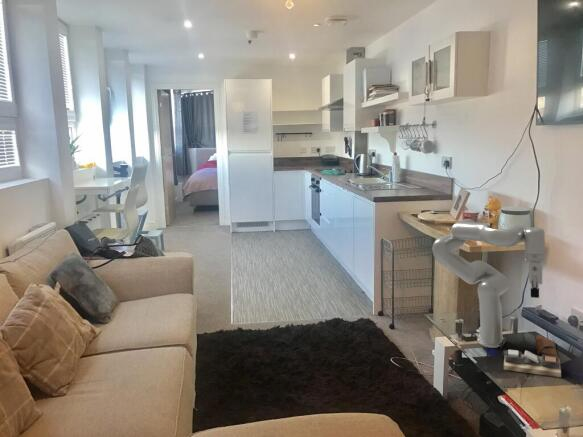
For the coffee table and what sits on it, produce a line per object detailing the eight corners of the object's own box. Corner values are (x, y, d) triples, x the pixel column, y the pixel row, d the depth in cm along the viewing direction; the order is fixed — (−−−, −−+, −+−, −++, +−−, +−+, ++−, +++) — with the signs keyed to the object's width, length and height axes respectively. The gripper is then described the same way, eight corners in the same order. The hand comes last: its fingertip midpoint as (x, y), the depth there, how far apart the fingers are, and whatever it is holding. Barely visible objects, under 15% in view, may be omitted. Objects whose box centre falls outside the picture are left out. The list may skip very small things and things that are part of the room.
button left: (508, 358, 196) (507, 353, 196) (508, 353, 200) (508, 349, 199) (518, 359, 194) (518, 355, 194) (518, 355, 198) (518, 350, 198)
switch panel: (503, 369, 194) (503, 359, 193) (505, 356, 205) (505, 346, 204) (561, 377, 184) (561, 367, 184) (559, 362, 195) (559, 353, 194)
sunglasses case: (560, 360, 196) (551, 347, 197) (544, 366, 200) (535, 353, 200) (555, 341, 213) (547, 329, 213) (540, 347, 216) (532, 335, 216)
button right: (545, 365, 190) (545, 360, 190) (544, 360, 193) (544, 355, 193) (556, 366, 188) (556, 361, 188) (555, 361, 192) (555, 357, 191)
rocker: (524, 356, 193) (525, 354, 193) (524, 351, 196) (525, 349, 196) (538, 363, 191) (539, 361, 191) (537, 358, 195) (539, 356, 194)
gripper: (545, 261, 187) (545, 304, 190) (544, 251, 200) (544, 291, 203) (524, 261, 190) (525, 302, 194) (524, 251, 203) (525, 290, 207)
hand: (534, 296), depth 199 cm, fingers closed
